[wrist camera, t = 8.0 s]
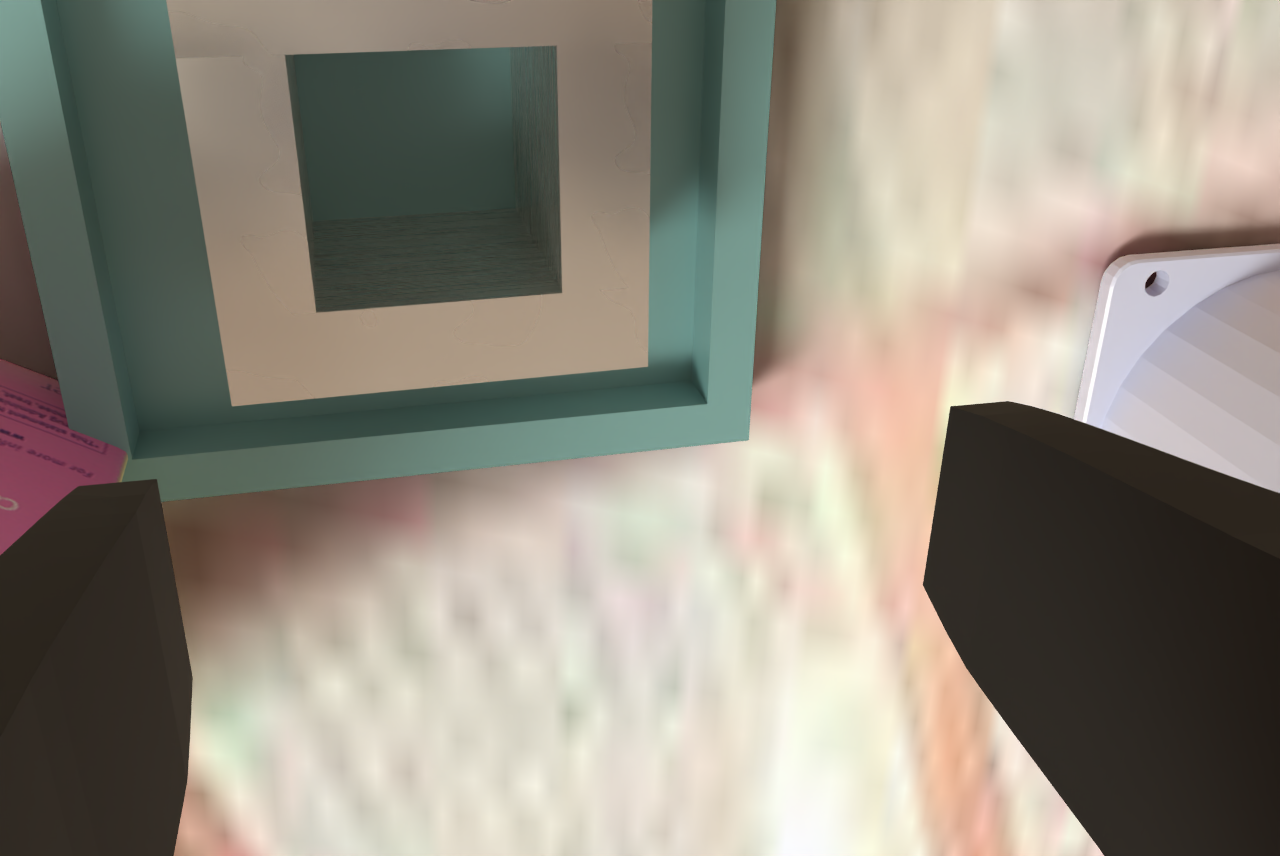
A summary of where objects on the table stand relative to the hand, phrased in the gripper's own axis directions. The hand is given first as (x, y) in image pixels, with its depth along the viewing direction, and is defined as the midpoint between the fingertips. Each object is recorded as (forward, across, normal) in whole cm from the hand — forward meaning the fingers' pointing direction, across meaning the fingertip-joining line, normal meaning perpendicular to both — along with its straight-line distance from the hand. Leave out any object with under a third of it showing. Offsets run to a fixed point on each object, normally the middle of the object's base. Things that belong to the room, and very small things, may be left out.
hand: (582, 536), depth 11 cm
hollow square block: (+10, +1, -2) cm, 10 cm away
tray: (+10, +1, -2) cm, 10 cm away
